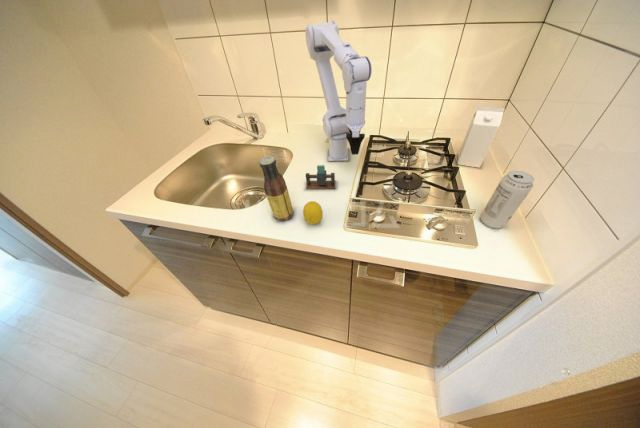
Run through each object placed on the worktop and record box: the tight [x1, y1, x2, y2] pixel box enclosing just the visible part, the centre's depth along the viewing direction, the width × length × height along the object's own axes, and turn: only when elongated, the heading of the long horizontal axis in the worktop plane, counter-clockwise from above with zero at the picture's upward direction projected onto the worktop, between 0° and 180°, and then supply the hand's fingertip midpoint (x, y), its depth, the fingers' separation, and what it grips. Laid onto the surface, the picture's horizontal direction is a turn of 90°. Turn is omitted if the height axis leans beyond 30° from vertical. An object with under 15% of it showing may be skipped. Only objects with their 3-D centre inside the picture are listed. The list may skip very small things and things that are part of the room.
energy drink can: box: [480, 170, 535, 230], centre depth 57 cm, size 6×6×15 cm
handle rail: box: [305, 172, 336, 190], centre depth 78 cm, size 4×10×5 cm, turn 85°
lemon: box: [302, 200, 324, 225], centre depth 64 cm, size 6×6×8 cm
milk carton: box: [457, 106, 506, 168], centre depth 77 cm, size 7×7×19 cm
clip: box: [316, 164, 328, 185], centre depth 76 cm, size 4×3×7 cm
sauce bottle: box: [258, 155, 294, 222], centre depth 64 cm, size 7×6×20 cm
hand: (354, 148), depth 77 cm, fingers open, 7 cm apart
